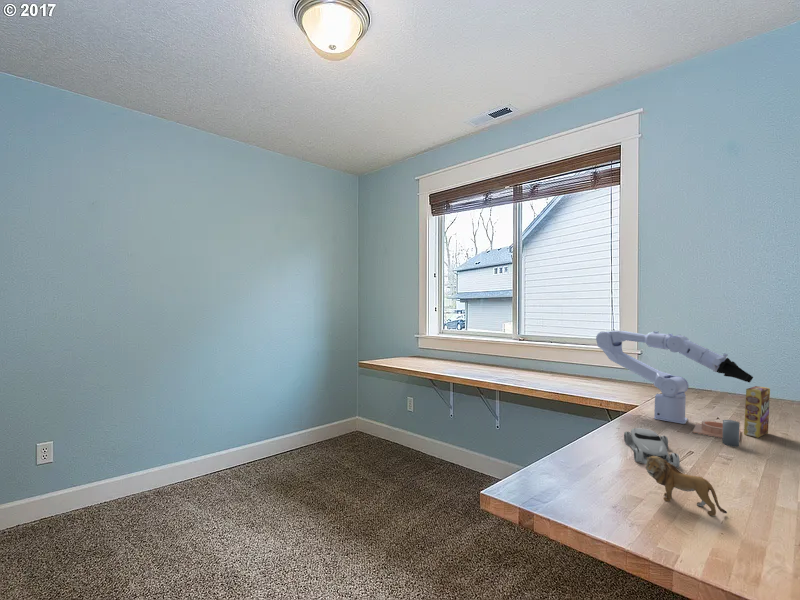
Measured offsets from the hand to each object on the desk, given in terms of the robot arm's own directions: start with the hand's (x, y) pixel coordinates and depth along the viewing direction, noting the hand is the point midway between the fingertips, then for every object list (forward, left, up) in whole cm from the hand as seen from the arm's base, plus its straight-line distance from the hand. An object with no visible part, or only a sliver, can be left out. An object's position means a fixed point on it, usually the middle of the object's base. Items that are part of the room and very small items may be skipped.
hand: (749, 378), depth 134 cm
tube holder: (-8, -2, -19) cm, 21 cm away
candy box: (+2, +5, -19) cm, 20 cm away
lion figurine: (-11, -67, -19) cm, 70 cm away
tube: (-4, -13, -19) cm, 23 cm away
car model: (-22, -36, -19) cm, 46 cm away
